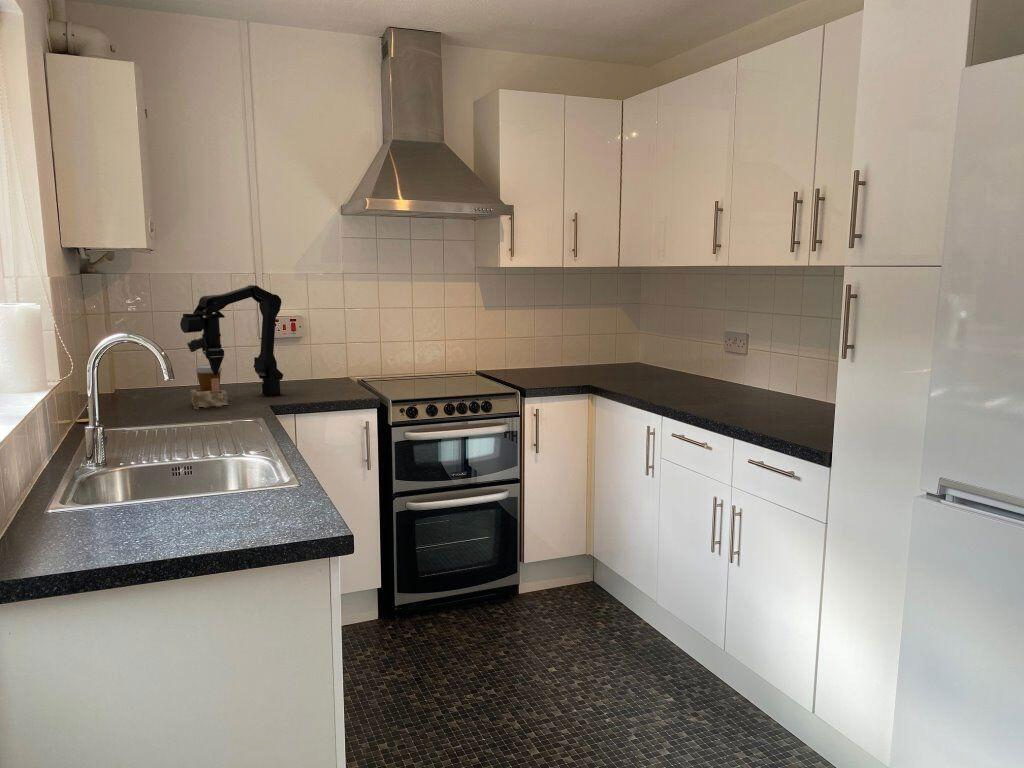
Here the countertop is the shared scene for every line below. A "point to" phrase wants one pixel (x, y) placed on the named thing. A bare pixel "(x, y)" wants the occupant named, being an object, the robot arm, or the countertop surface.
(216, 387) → the dowel
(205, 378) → the disposable coffee cup
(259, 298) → the robot arm
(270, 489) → the countertop surface
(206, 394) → the block
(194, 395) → the wall
